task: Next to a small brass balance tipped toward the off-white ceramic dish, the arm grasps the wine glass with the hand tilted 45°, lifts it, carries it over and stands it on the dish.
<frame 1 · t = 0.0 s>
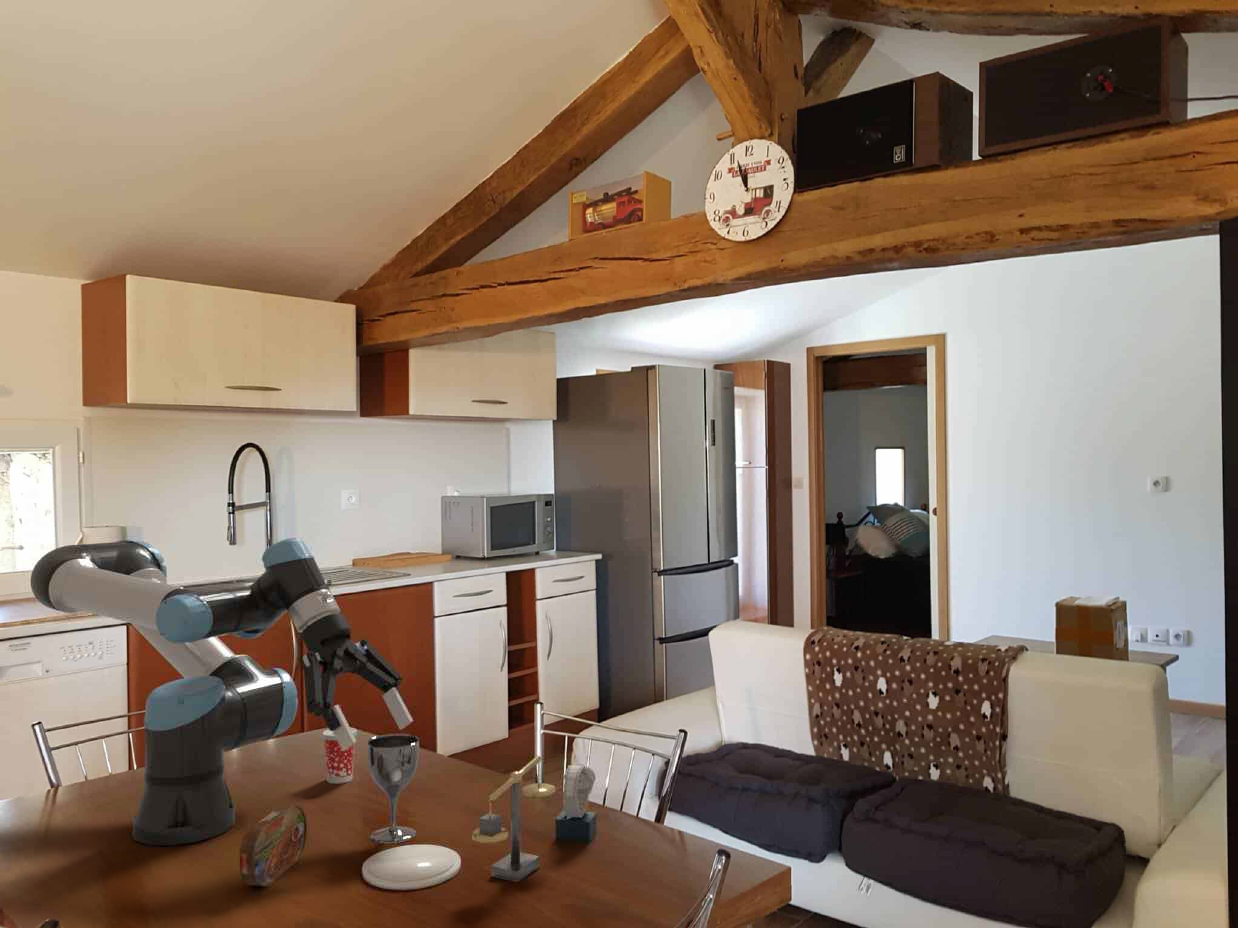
hand: (379, 735, 155), 15 cm above the table, tool tilted 35°, fingers open, 13 cm apart
wine glass: (393, 836, 153), on the table
dish: (411, 868, 140), on the table
balance: (515, 871, 139), on the table
tin: (273, 874, 139), on the table
beverage cup: (339, 780, 181), on the table
watch: (576, 836, 153), on the table
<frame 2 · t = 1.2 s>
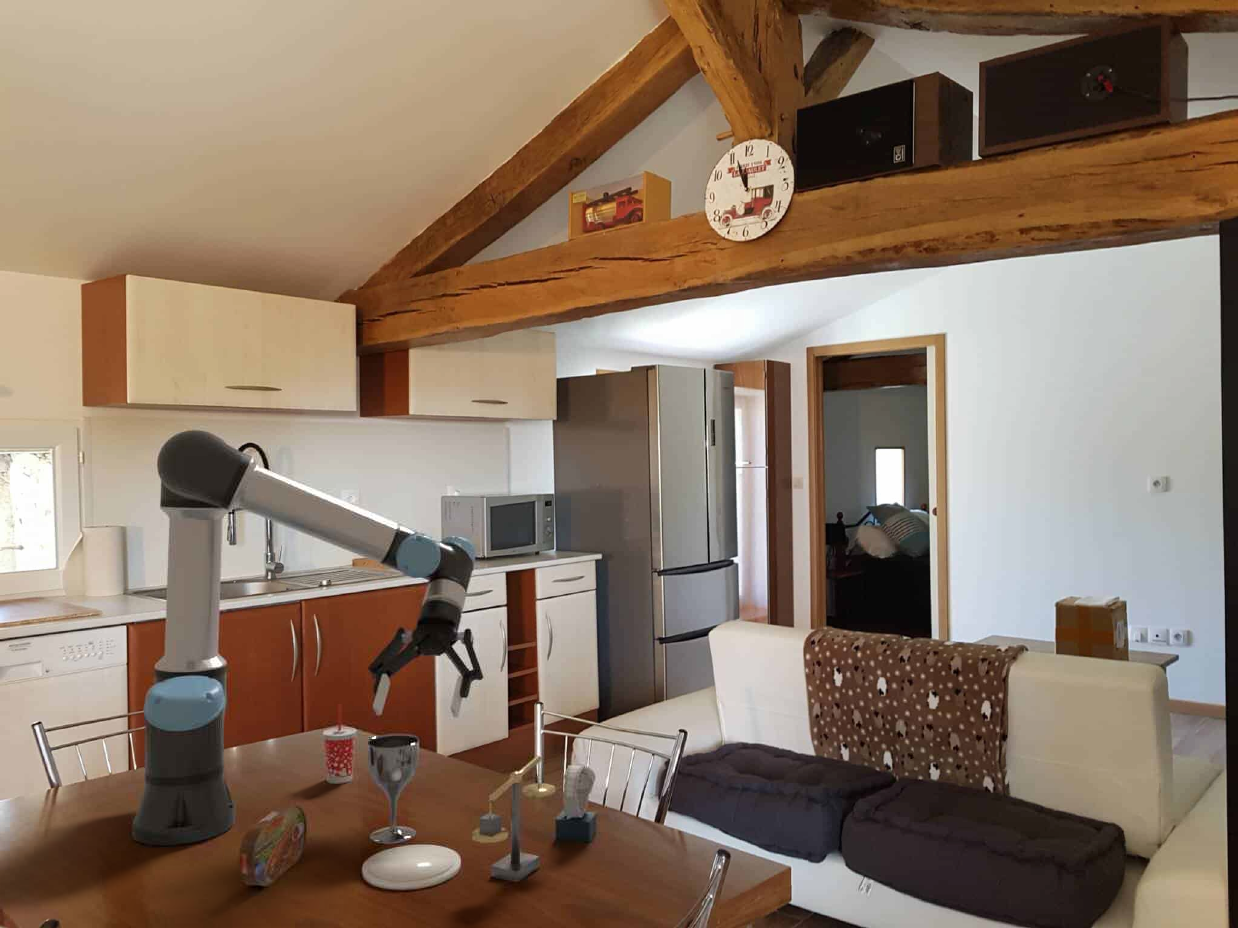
hand: (415, 712, 164), 17 cm above the table, tool tilted 45°, fingers open, 13 cm apart
nothing on the table moved.
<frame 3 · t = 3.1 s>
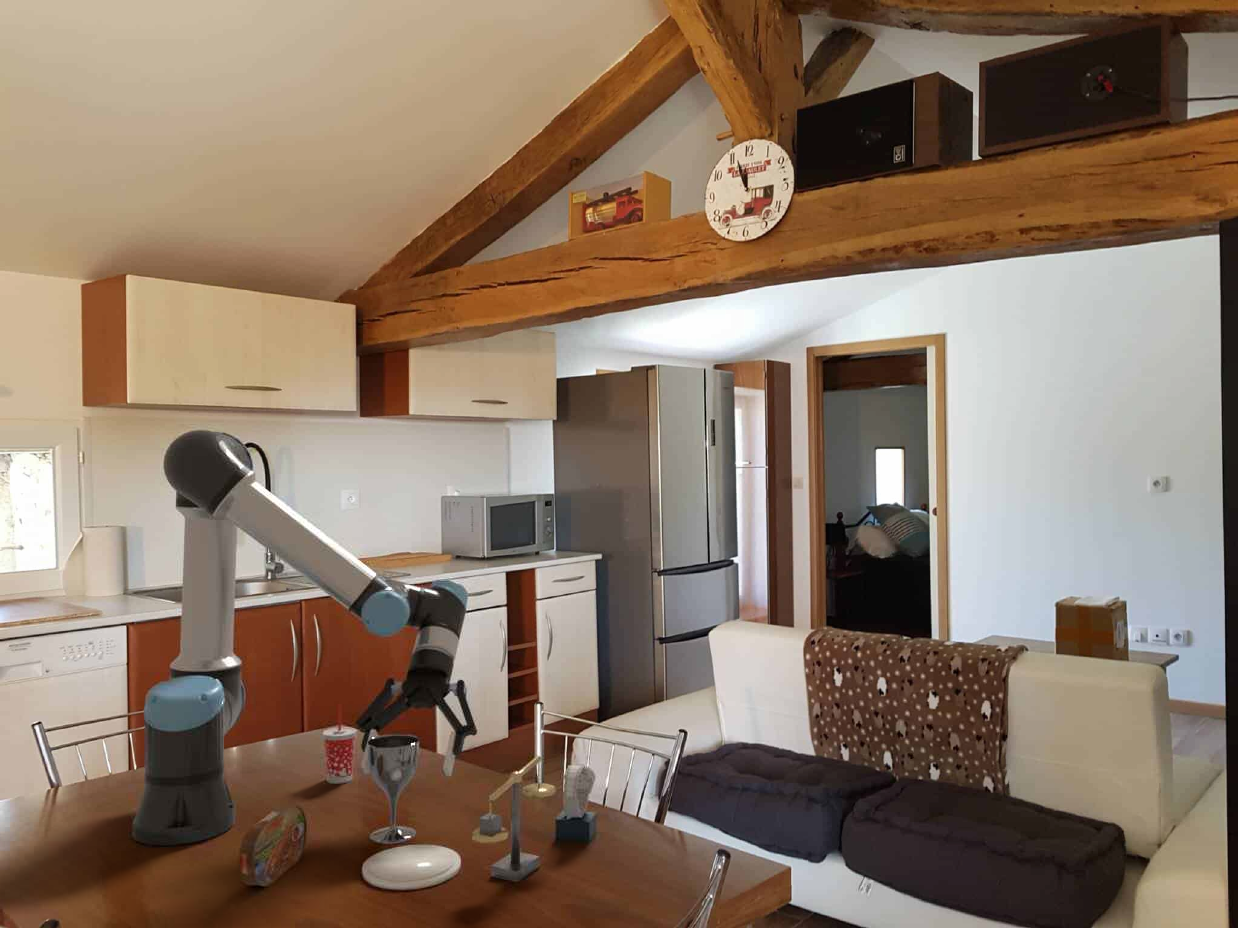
hand: (405, 771, 156), 9 cm above the table, tool tilted 45°, fingers open, 13 cm apart
nothing on the table moved.
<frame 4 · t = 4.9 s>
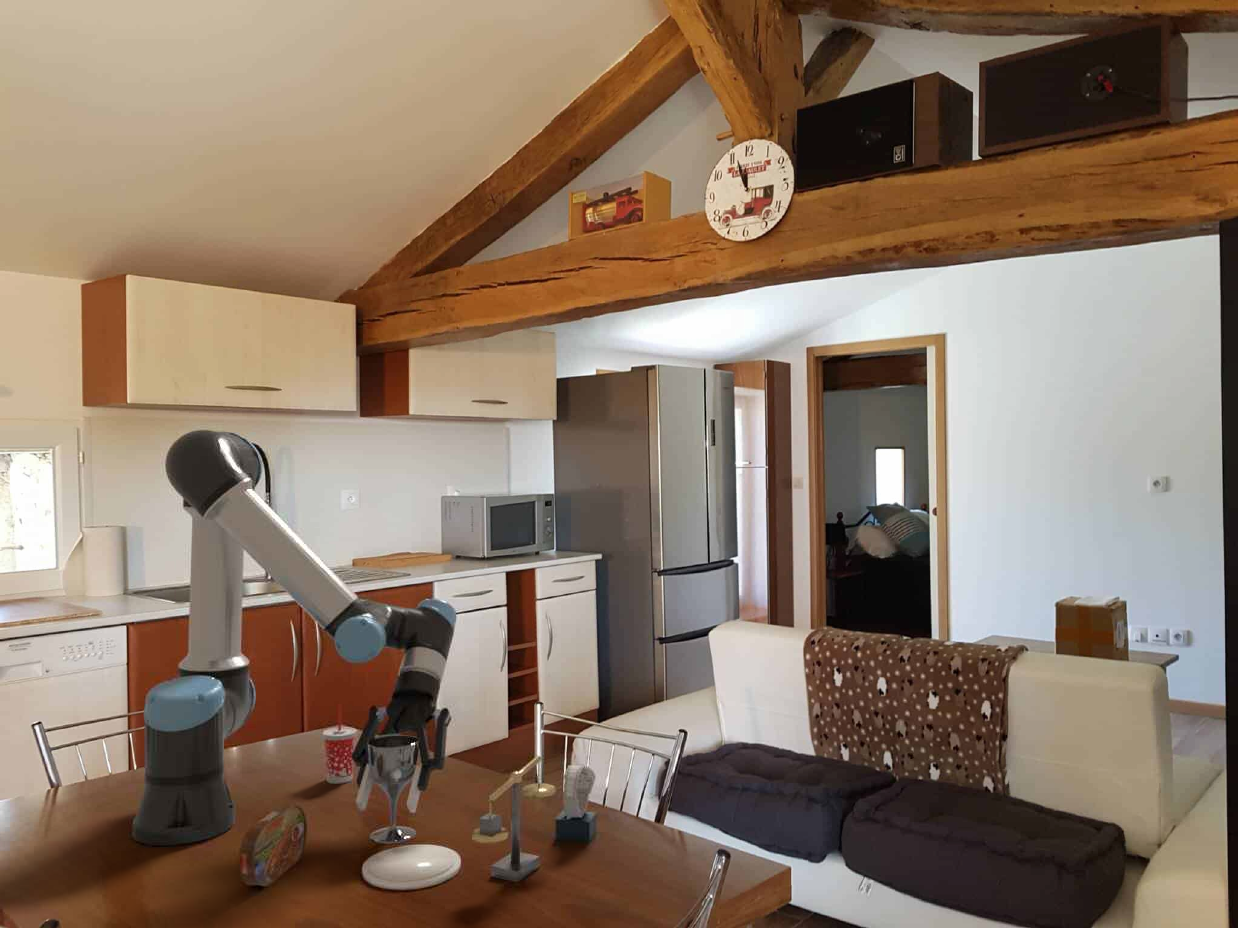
hand: (385, 807, 150), 6 cm above the table, tool tilted 45°, fingers closed on wine glass, 7 cm apart
wine glass: (393, 835, 153), on the table, touching gripper
everything else where it was.
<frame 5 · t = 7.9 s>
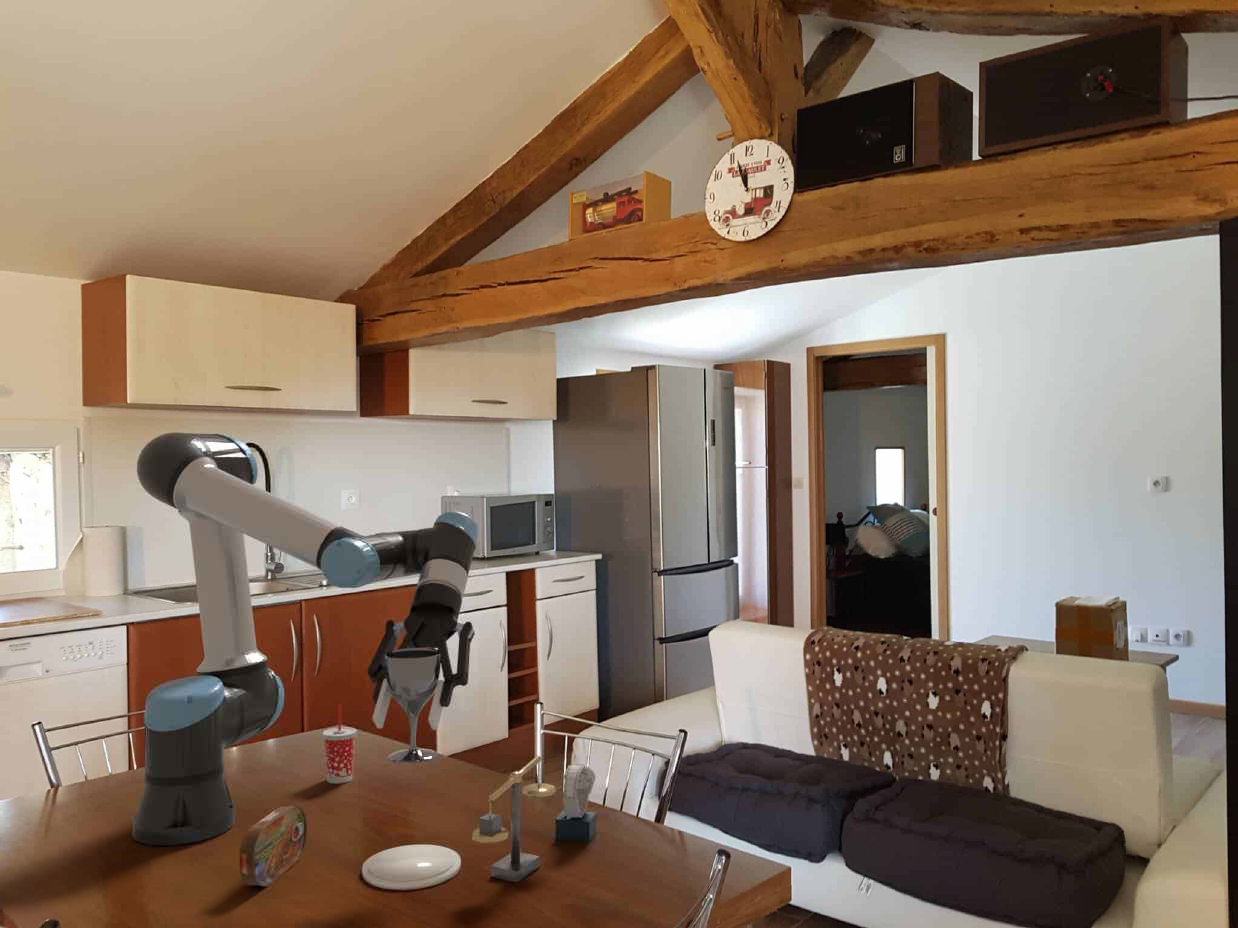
hand: (405, 723, 137), 22 cm above the table, tool tilted 45°, fingers closed on wine glass, 7 cm apart
wine glass: (413, 757, 141), point 16 cm above the table, touching gripper
everything else where it was.
when the fingers open (8 cm above the table, at t = 10.7 s): wine glass drops 1 cm, resting on dish.
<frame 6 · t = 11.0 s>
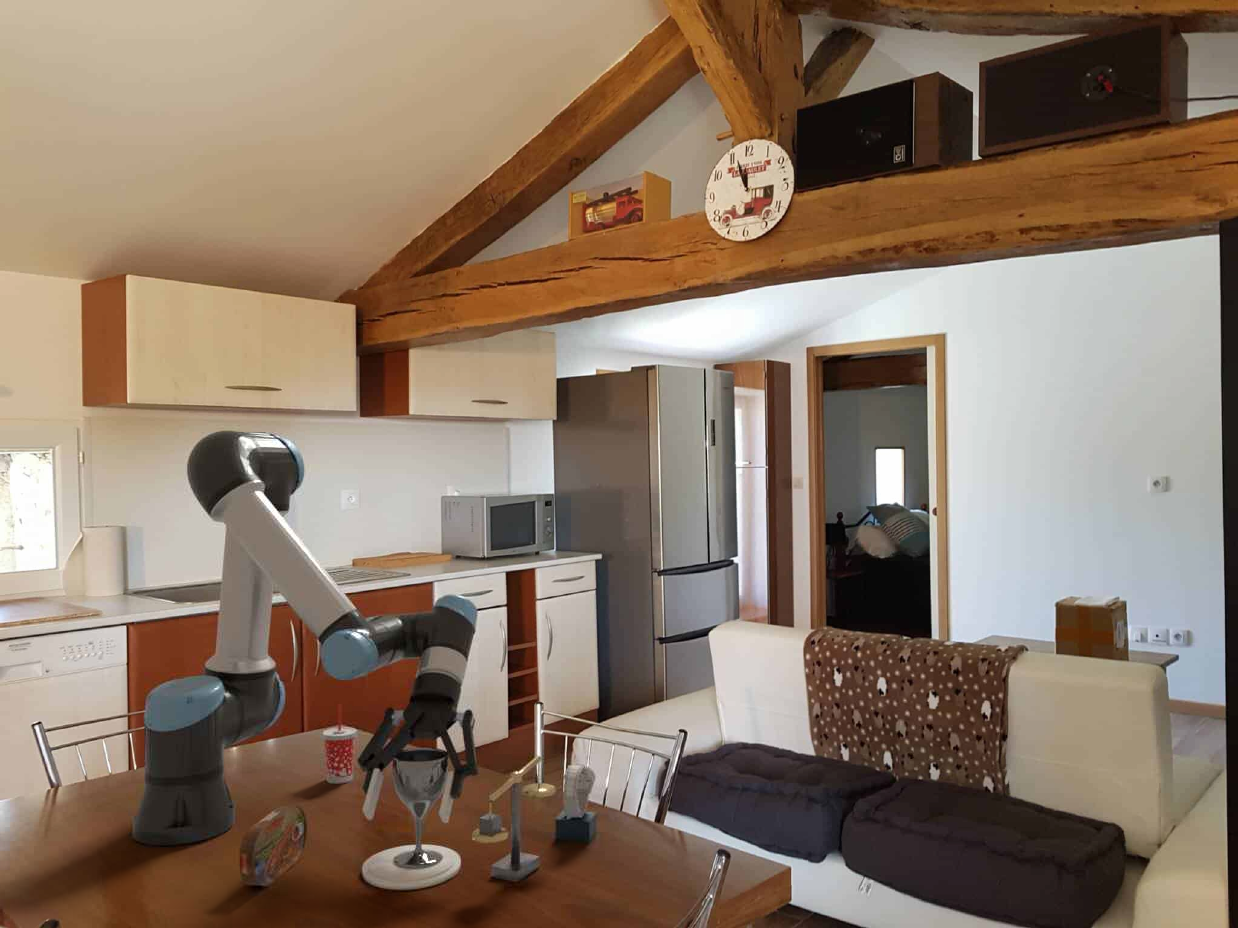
hand: (405, 816, 138), 9 cm above the table, tool tilted 45°, fingers open, 10 cm apart
wine glass: (418, 859, 141), point 1 cm above the table, touching dish
everything else where it was.
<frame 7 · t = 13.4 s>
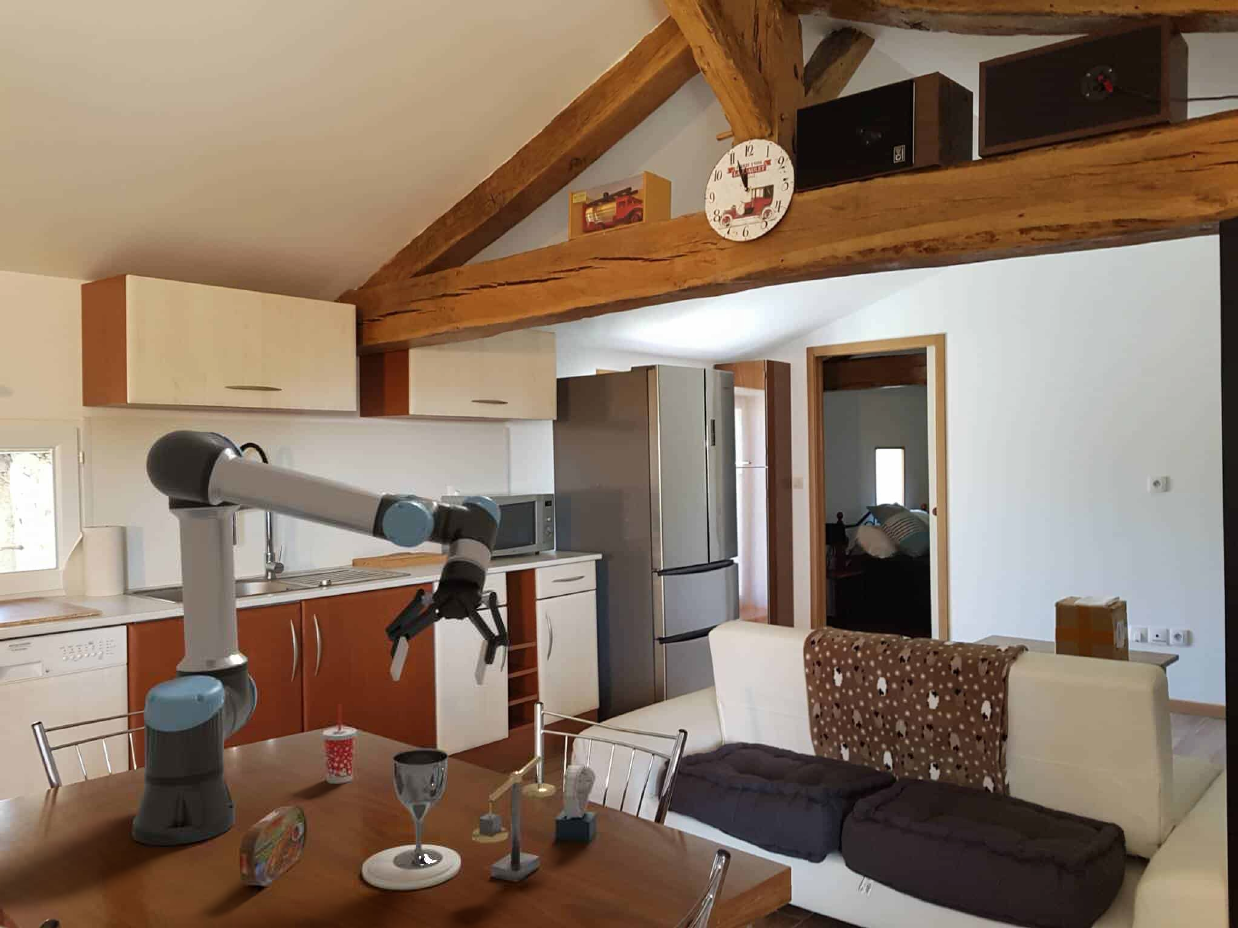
hand: (436, 678, 151), 25 cm above the table, tool tilted 45°, fingers open, 13 cm apart
nothing on the table moved.
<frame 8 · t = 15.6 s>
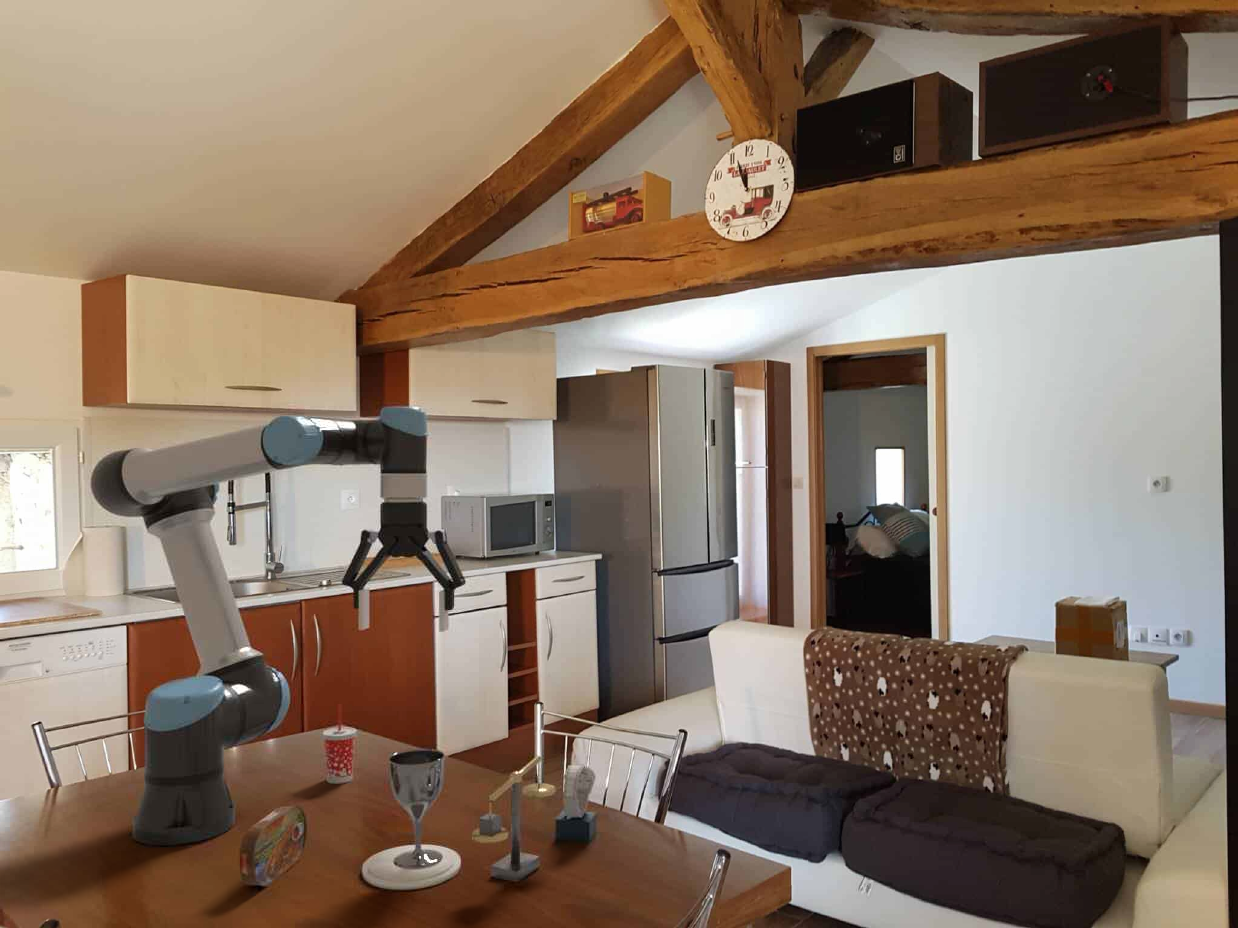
hand: (403, 629, 159), 32 cm above the table, tool pointing down, fingers open, 13 cm apart
nothing on the table moved.
at the end: wine glass 1.0 cm from the dish (horizontally); wine glass tilted 0°; the gripper is holding nothing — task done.
